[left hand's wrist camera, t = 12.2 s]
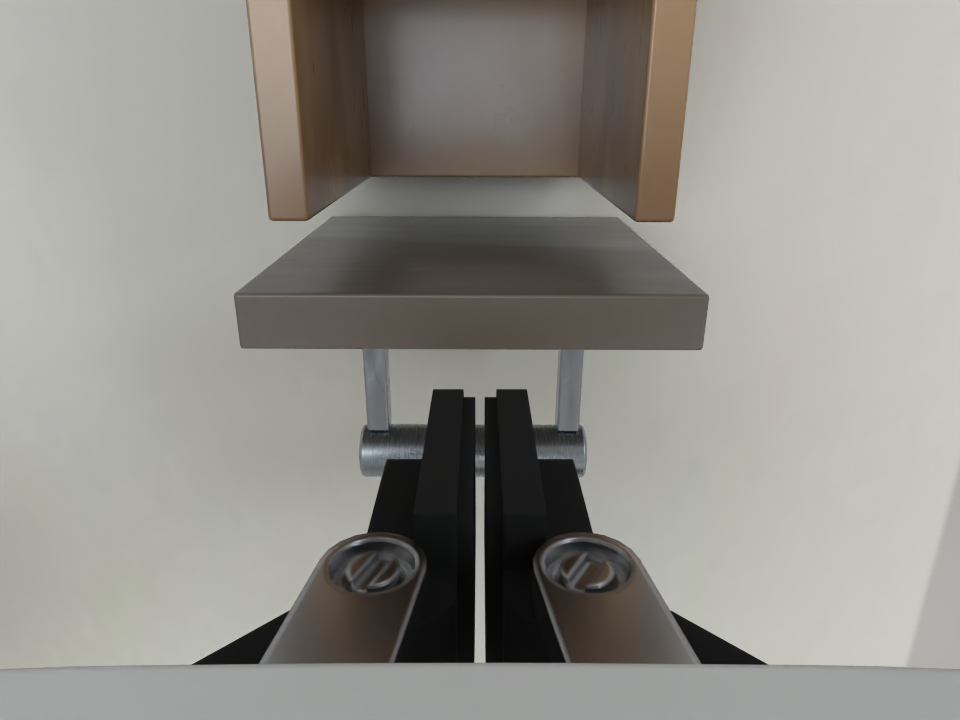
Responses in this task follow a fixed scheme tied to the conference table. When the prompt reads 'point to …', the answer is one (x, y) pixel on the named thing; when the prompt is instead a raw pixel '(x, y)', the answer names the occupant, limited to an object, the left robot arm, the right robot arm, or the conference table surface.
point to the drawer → (471, 153)
